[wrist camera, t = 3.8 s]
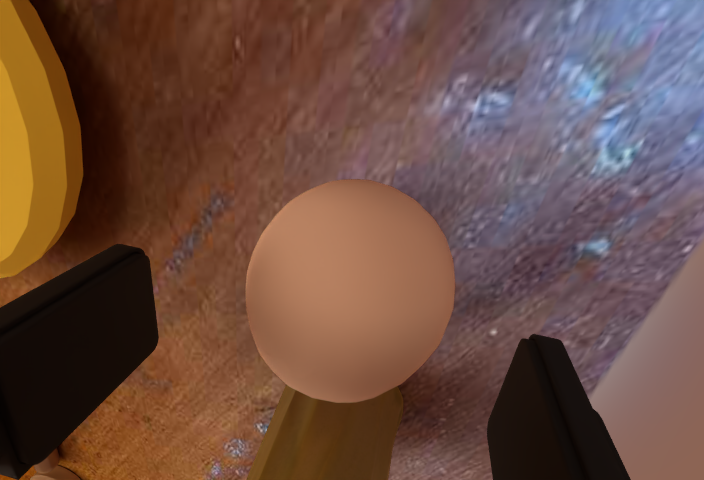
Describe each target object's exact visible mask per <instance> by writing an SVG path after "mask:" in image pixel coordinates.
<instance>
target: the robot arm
mask: <svg viewBox="0 0 704 480" xmlns="http://www.w3.org/2000/svg"><path fill="white" fill-rule="evenodd" d="M158 338H159V336H158V328H157V319H156V311H155V302H154V294H153V285H152V277H151V268H150V261H149V258H148V256H146V255H145V253H144V251H143V250H142V249H140V248H137V247H132V246H127V245H123V244H116V245H113V246H112V247H110V248H108V249H106V250H104V251H102V252H101V253H99V254H97V255H95V256H93V257H92V258H90V259H88V260H86V261H84V262H82V263H81V264H79V265H77V266H75V267H73V268H72V269H70V270H68V271H66V272H64V273H62V274H61V275H59V276H57V277H55V278H53V279H52V280H50V281H48V282H46V283H44V284H42V285H41V286H39V287H37V288H35V289H33V290H32V291H30V292H28V293H26V294H24V295H22V296H21V297H19V298H17V299H15V300H13V301H12V302H10V303H8V304H6V305H4V306H2V307H1V308H0V474H1V475H4V476H8V477H11V478H14V479H17V480H19V479H20V478H21V477H22V476H23V475H24V474H25V473H26V472H27V471H28V470H29V469H30V468H31V467H32V466H33V465H37V464H39V463H41V462H42V461H44V460H45V459H46V458H47V457H48V456H49V455H50V454H51V453H52V452H53V451H54V450H55V449H56V448H57V447H58V446H59V445H60V444H61V443H62V442H63V441H64V440H65V439H66V438H67V437H68V436H69V435H70V434H71V433H72V432H73V431H74V430H75V429H76V428H77V427H78V426H79V425H80V424H81V423H82V422H83V421H84V420H85V419H86V418H87V417H88V416H89V415H90V414H91V413H92V412H93V411H94V410H95V409H96V408H97V407H98V406H99V405H100V404H101V403H102V402H103V401H104V400H105V399H106V398H107V397H108V396H109V395H110V394H111V393H112V392H113V391H114V390H115V389H116V388H117V387H118V386H119V385H120V384H121V383H122V382H123V381H124V380H125V379H126V378H127V377H128V376H129V375H130V374H131V373H132V372H133V371H134V370H135V369H136V368H137V367H138V366H139V365H140V364H141V363H142V362H143V361H144V360H145V359H146V358H147V357H148V356H149V355H150V354H151V353H152V352H153V351H154V349H155V348H156V346H157V343H158ZM487 439H488V446H489V453H490V460H491V468H492V475H493V480H631V479H630V477H629V475H628V473H627V471H626V469H625V467H624V465H623V462H622V460H621V458H620V456H619V454H618V452H617V450H616V448H615V446H614V443H613V441H612V439H611V437H610V435H609V433H608V431H607V429H606V426H605V424H604V422H603V420H602V418H601V417H600V415H599V414H598V413H597V412H596V411H595V410H594V409H593V408H592V406H591V404H590V401H589V399H588V397H587V395H586V393H585V391H584V388H583V386H582V384H581V382H580V380H579V378H578V375H577V373H576V371H575V369H574V367H573V364H572V362H571V360H570V358H569V356H568V354H567V351H566V349H565V347H564V345H563V343H562V341H561V340H559V339H554V338H550V337H545V336H541V335H536V334H532V335H531V336H530V337H529V339H524V338H523V339H521V340H520V342H519V344H518V347H517V349H516V352H515V355H514V357H513V360H512V362H511V365H510V367H509V370H508V372H507V375H506V377H505V380H504V382H503V385H502V387H501V390H500V392H499V395H498V398H497V400H496V403H495V405H494V408H493V410H492V413H491V415H490V418H489V421H488V426H487Z"/></svg>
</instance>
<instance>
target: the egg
mask: <svg viewBox="0 0 704 480" xmlns="http://www.w3.org/2000/svg"><path fill="white" fill-rule="evenodd" d="M454 295H455V275H454V264H453V258H452V255H451V252H450V249H449V246H448V243H447V240H446V237H445V235H444V234H443V232H442V230H441V229H440V227H439V226H438V224H437V222H436V221H435V219H434V218H433V217H432V216H431V215H430V214H429V213H428V212H427V211H426V210H425V209H424V208H423V207H422V206H421V205H420V204H419V203H418V202H417V201H416V200H415V199H413V198H411V197H410V196H408V195H406V194H404V193H403V192H401V191H399V190H397V189H396V188H394V187H392V186H388V185H385V184H381V183H378V182H375V181H371V180H361V179H348V180H337V181H332V182H327V183H324V184H322V185H320V186H317V187H315V188H312V189H310V190H308V191H306V192H304V193H302V194H301V195H299V196H298V197H296V198H294V199H293V200H291V201H290V202H288V204H287V205H286V206H285V207H284V208H283V209H282V210H281V211H280V212H279V213H278V214H277V215H276V216H275V217H274V218H273V220H272V221H271V222H270V224H269V225H268V226H267V227H266V229H265V230H264V231H263V233H262V234H261V236H260V239H259V241H258V243H257V245H256V247H255V249H254V251H253V253H252V257H251V260H250V264H249V267H248V271H247V278H246V309H247V315H248V321H249V326H250V329H251V332H252V335H253V338H254V341H255V343H256V346H257V348H258V351H259V354H260V355H261V357H262V358H263V359H264V361H265V362H266V363H267V365H268V366H269V367H270V369H271V370H272V371H273V372H274V373H275V374H276V375H277V376H278V377H279V378H280V379H281V380H282V381H284V382H285V383H286V384H287V385H288V386H289V387H291V388H293V389H295V390H297V391H299V392H301V393H303V394H305V395H307V396H309V397H311V398H315V399H320V400H325V401H330V402H335V403H352V402H360V401H364V400H368V399H372V398H375V397H376V396H378V395H380V394H382V393H384V392H386V391H388V390H390V389H392V388H394V387H396V386H398V385H400V384H402V383H403V382H404V381H405V380H407V379H408V378H409V377H410V376H411V375H412V374H413V373H414V372H416V371H417V370H418V369H419V368H420V367H421V366H422V365H423V364H424V363H425V362H426V361H427V359H428V358H429V357H430V356H431V355H432V353H433V352H434V351H435V350H436V349H437V347H438V346H439V345H440V342H441V340H442V337H443V335H444V332H445V330H446V327H447V325H448V322H449V319H450V317H451V314H452V311H453V308H454Z"/></svg>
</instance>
